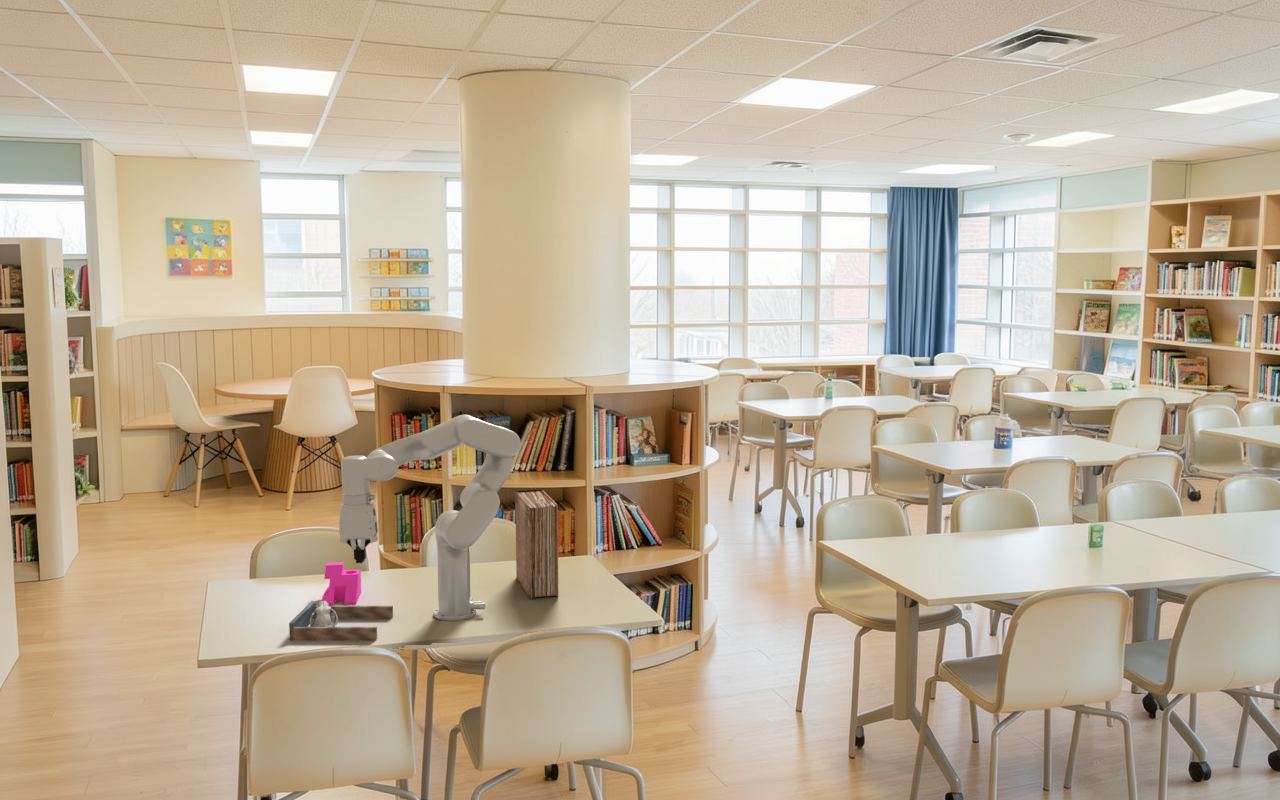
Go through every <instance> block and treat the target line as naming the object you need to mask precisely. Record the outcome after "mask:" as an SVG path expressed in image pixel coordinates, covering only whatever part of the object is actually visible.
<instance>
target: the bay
mask: <svg viewBox="0 0 1280 800" xmlns="http://www.w3.org/2000/svg"><path fill="white" fill-rule="evenodd" d="M317 607H318V605H317V601H316V600H311V601H310V602H309V603H308V604H307V605H306V606H305V607H304V608H303V609H302V610H301V611H300V612H299V613H298V614H297V615H296V616H295V617H294V618H293V619H292V620H290V622H289V623H288V625H289V626H288V627H289V628H288V631H289V641H377V640H378V626H335V627H310V625H311V624H310V623H309V621H310V618H311V616H312V613H313V612H314V611H315V609H316V608H317ZM329 607H331V609H333V610H334V611H335V612H336V614H337V617H338V619H394V606H393V605H332V606H329ZM313 619H315V618H313ZM335 619H336V616H335Z"/></svg>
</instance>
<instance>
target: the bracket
mask: <svg viewBox="0 0 1280 800" xmlns="http://www.w3.org/2000/svg"><path fill="white" fill-rule="evenodd" d="M344 564H345V563H344V562H327V563H326V564H325V570H324V578H323V579H324V580H329V585H328V586H327V588H326V590H325V591H324V593H323V594H322V597H321V598H322V599H321V601H326V602H327V603H328V605H329V606H335V605H334V604H335V603H336V602H344V606H356V605H357V604H358V601H359V599H360V597H361V594H362V577H361V575H362V573H361V569H348V570H347V569H345V565H344Z"/></svg>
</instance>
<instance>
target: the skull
mask: <svg viewBox="0 0 1280 800" xmlns="http://www.w3.org/2000/svg"><path fill="white" fill-rule="evenodd" d="M317 606H318V607H317V608H316V609H315V611H314V612H313V613H312V616H311V618H310V621H309V623H310V624H309V627H336V626H337V624H338V622H339V618H338V617H337V614H336V612H335V611H334V610H333V609H331V607H329V605H328V603H327V602H326V601H322V600H320V601H319V602H318V603H317ZM335 616H336V618H335ZM313 618H315V619H313ZM335 619H336V620H335Z"/></svg>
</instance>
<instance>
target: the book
mask: <svg viewBox="0 0 1280 800" xmlns="http://www.w3.org/2000/svg"><path fill="white" fill-rule="evenodd" d="M514 504H515V505H514V506H515V507H514V508H515V514H514V515H515V554H516V555H515V556H516V558H515V560H516V561H515V564H516V565H515V567H516V579H517V580H518V582H519V584H520V585H521V587H522V589H523V591H524V592H525V594H526V595H527V597H528V598H529V600H530V601H531V600H532V599H533V598H541V597H542V598H543V597H544V598H545V597H553V596H556V597H557V598H558V597H559V513H558V512H559V507H558V503H556V502H555V500H554V499H553V498H552V497H550V496H549V495H548V493H546V492H545V490H543V489H531V490H530V489H528V490H516V491H515V490H514Z"/></svg>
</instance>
